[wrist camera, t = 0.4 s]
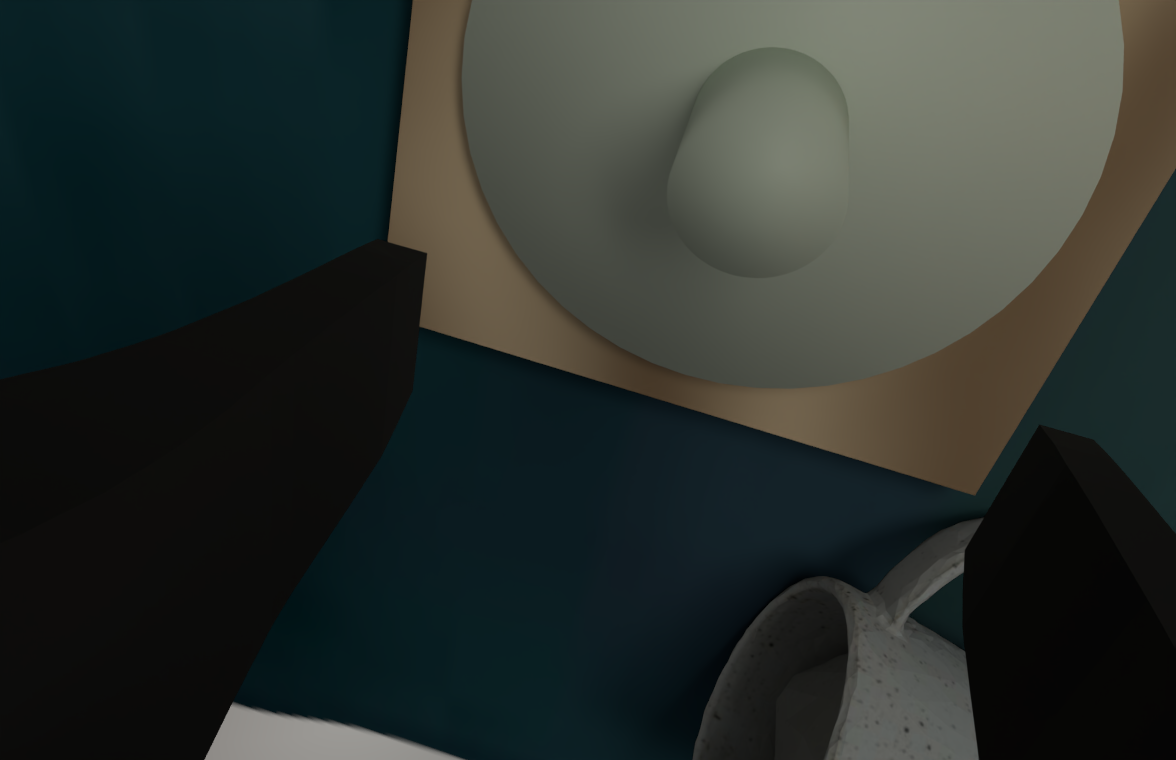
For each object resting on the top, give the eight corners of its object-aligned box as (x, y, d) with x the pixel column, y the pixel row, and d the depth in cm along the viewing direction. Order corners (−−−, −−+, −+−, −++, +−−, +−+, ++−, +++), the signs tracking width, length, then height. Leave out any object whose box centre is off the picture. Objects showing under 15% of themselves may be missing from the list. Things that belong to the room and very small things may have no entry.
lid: (1269, -141, 15) (1371, -92, 12) (945, 439, 22) (960, 559, 19) (524, -341, 16) (449, -343, 13) (435, 286, 23) (373, 380, 20)
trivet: (1376, -216, 15) (1406, -208, 14) (970, 466, 24) (974, 495, 23) (481, -454, 16) (461, -460, 15) (395, 293, 24) (380, 314, 23)
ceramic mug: (936, 794, 30) (961, 1079, 24) (696, 676, 30) (658, 939, 23) (1210, 587, 24) (1337, 896, 18) (915, 432, 24) (943, 699, 17)
